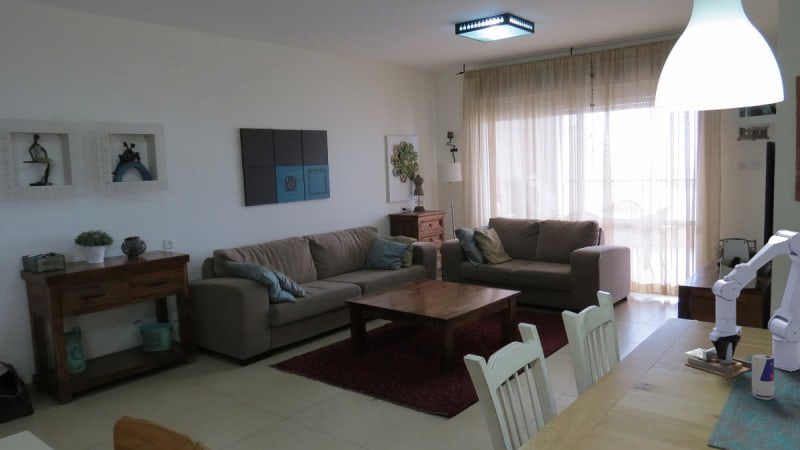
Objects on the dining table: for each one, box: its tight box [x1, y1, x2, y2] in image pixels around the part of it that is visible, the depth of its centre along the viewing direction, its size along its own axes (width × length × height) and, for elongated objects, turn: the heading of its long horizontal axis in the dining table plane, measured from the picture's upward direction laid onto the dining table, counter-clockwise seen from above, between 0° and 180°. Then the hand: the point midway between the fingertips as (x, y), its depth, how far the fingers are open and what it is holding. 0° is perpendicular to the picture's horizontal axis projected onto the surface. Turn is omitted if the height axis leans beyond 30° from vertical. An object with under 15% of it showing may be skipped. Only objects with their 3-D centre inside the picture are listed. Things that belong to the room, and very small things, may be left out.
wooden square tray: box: [684, 356, 752, 379], centre depth 191 cm, size 14×15×2 cm
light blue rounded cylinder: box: [719, 342, 732, 366], centre depth 189 cm, size 4×4×7 cm
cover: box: [683, 347, 718, 361], centre depth 196 cm, size 8×8×3 cm
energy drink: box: [751, 352, 775, 401], centre depth 166 cm, size 5×5×12 cm
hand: (725, 357), depth 189 cm, fingers closed on light blue rounded cylinder, 3 cm apart
